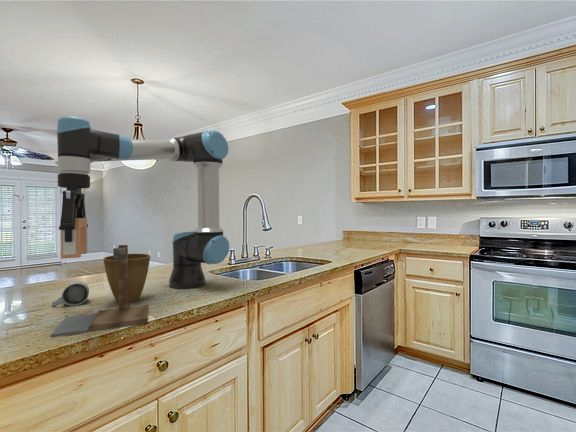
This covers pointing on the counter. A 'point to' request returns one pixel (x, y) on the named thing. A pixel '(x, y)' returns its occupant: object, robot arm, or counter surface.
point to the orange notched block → (78, 238)
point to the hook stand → (121, 301)
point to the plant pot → (135, 275)
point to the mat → (74, 325)
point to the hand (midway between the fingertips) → (74, 251)
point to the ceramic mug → (73, 294)
